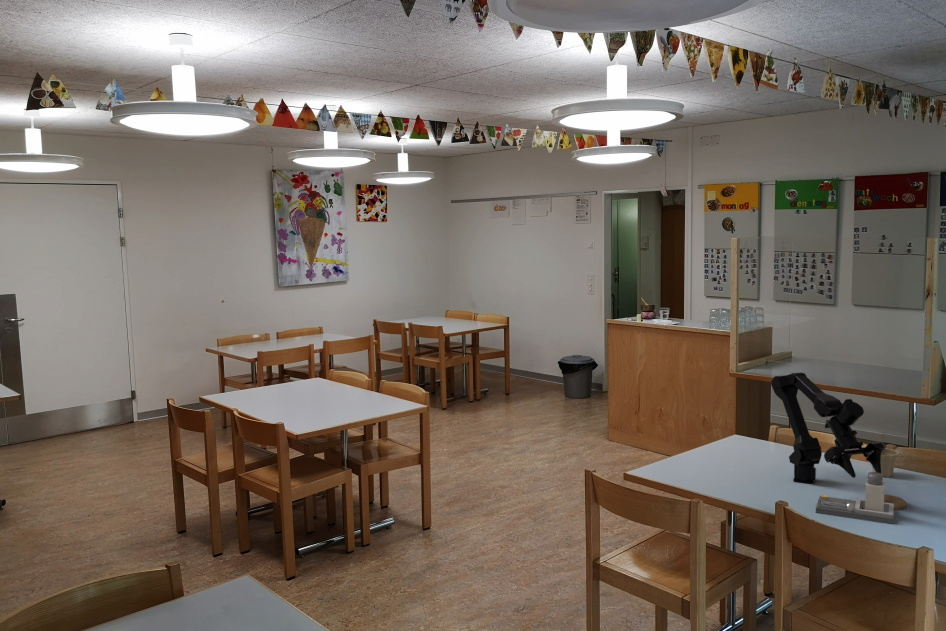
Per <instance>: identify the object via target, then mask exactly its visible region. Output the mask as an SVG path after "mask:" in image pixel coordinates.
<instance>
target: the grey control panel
mask: <svg viewBox="0 0 946 631" xmlns="http://www.w3.org/2000/svg"><path fill="white" fill-rule="evenodd" d="M818 500H822V501H829V502H837V503H844V504H847V503H853V512H848V511H847V507H841V506H834V505H827V504H821V506H818V502H817V504H816V506H815V513H816V514H821V515H829V516H836V517H843V518H849V519H855V520H861V521H863V520H864V521H868V522H869V521H870V522H876V523H881V524H890V525H894V513H895V510H894V504H893V503H885V502H884V512H879V511H872V510H865V499H863V498H856V500H852V499H846V498H839V497H833V496H832V497H831V496H828V495H825V494H822V495H819V497H818ZM862 508H863V509H862Z"/></svg>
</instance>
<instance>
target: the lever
mask: <svg viewBox="0 0 946 631" xmlns="http://www.w3.org/2000/svg"><path fill="white" fill-rule="evenodd" d="M817 503H818V506H821V504H827V505H834V506H841V507H847V511H848V512H853V503H847V504H844V503H837V502H829V501H822V500H819V499H818V501H817Z"/></svg>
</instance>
